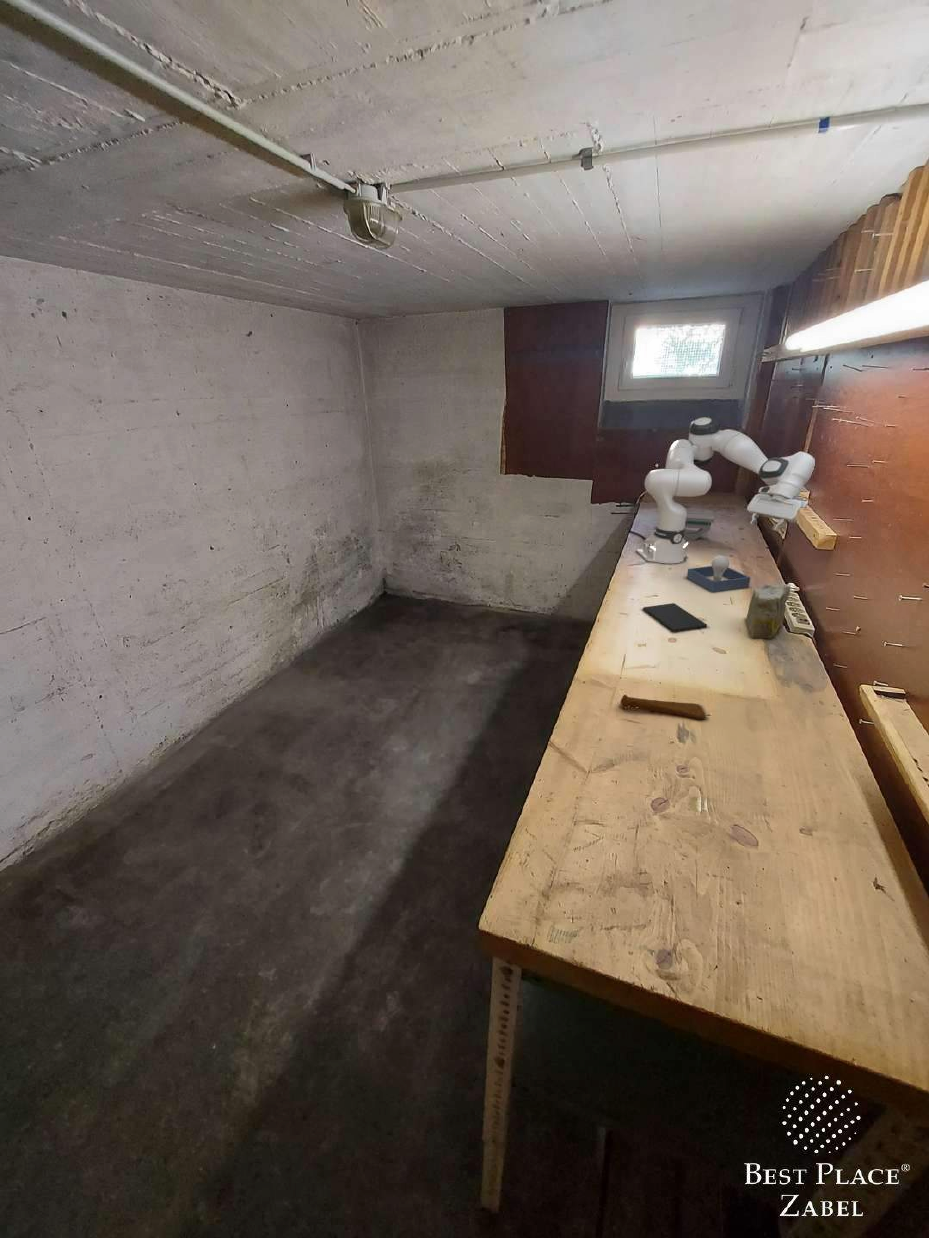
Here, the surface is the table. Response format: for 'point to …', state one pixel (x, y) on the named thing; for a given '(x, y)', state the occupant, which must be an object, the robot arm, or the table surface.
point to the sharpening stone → (697, 525)
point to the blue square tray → (735, 581)
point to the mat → (674, 617)
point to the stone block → (767, 610)
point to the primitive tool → (664, 706)
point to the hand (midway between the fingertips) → (763, 527)
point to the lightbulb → (719, 566)
